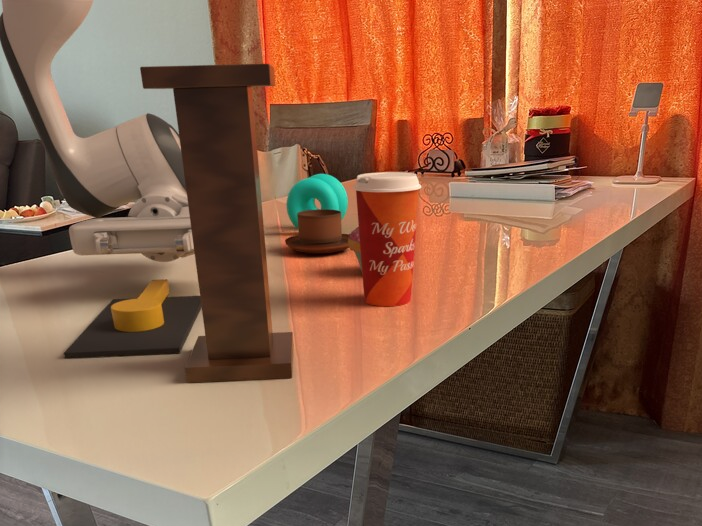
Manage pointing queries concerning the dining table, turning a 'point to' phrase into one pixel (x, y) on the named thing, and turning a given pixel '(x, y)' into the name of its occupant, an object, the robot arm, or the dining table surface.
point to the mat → (160, 340)
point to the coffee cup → (387, 235)
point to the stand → (226, 220)
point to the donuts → (316, 196)
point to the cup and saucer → (319, 232)
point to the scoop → (142, 309)
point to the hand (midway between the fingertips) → (142, 246)
